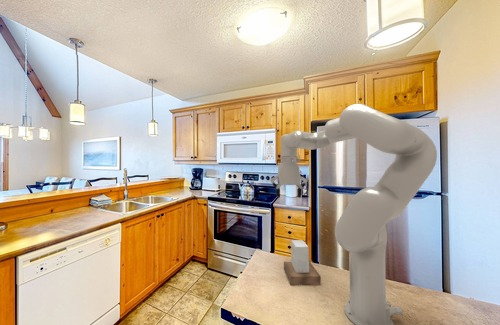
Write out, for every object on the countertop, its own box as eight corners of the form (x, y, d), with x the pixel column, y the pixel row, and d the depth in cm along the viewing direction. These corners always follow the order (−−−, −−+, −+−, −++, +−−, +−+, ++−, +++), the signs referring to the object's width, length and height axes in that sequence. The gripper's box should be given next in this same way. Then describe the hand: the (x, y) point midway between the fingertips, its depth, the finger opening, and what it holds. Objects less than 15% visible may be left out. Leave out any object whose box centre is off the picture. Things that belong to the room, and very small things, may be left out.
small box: (309, 273, 74) (309, 246, 75) (295, 273, 74) (295, 246, 74) (303, 263, 82) (303, 239, 83) (291, 263, 82) (290, 239, 82)
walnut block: (309, 270, 84) (309, 261, 84) (320, 286, 72) (320, 276, 72) (284, 270, 83) (284, 261, 84) (290, 287, 71) (290, 276, 72)
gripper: (304, 161, 89) (304, 196, 88) (269, 161, 89) (269, 196, 88) (309, 160, 82) (310, 198, 81) (271, 160, 81) (271, 198, 80)
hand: (288, 197), depth 84 cm, fingers open, 9 cm apart
